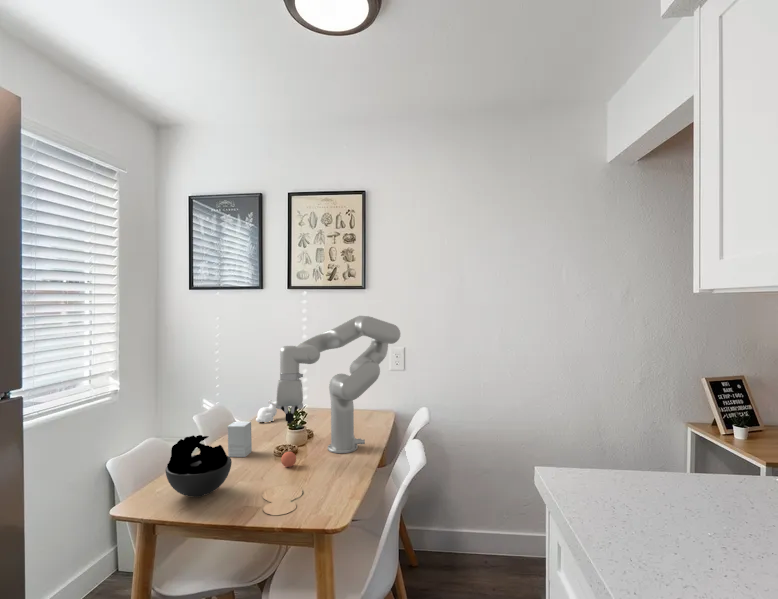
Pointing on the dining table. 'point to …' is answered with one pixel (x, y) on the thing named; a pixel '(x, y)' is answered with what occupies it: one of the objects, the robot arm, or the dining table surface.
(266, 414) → the rabbit
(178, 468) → the coal bowl
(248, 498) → the dining table surface
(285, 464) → the ball
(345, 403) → the robot arm
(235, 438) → the supplement box
